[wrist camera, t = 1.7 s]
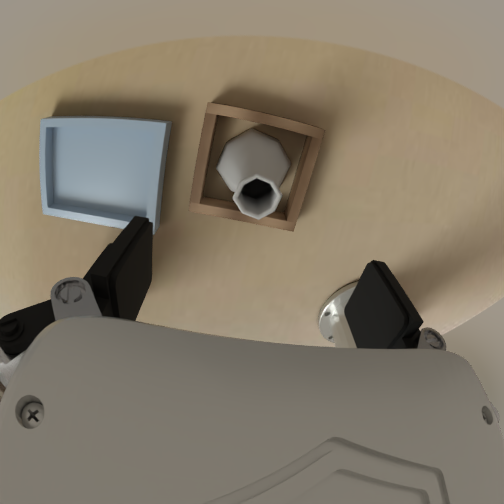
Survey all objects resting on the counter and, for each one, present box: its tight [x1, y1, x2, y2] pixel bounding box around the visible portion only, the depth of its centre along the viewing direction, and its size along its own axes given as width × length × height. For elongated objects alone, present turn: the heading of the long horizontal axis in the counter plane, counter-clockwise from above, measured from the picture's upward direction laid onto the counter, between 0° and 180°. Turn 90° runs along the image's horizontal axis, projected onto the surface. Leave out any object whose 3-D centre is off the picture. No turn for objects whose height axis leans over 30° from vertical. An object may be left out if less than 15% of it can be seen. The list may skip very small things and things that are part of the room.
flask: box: [216, 128, 291, 220], centre depth 22 cm, size 7×7×10 cm
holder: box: [189, 103, 325, 231], centre depth 26 cm, size 11×11×2 cm
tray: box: [40, 116, 172, 235], centre depth 25 cm, size 16×12×2 cm
